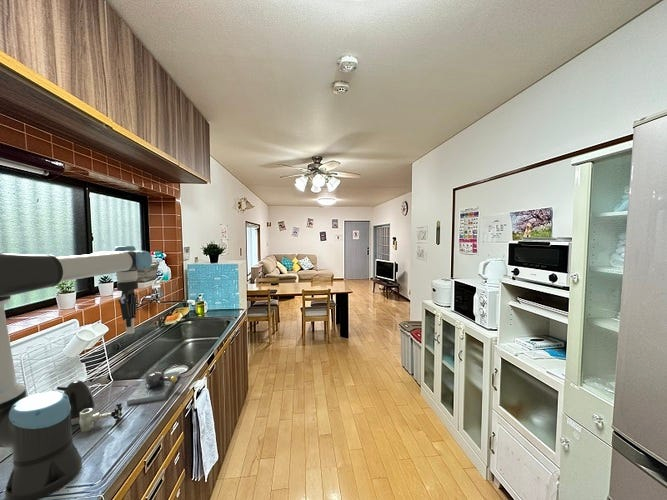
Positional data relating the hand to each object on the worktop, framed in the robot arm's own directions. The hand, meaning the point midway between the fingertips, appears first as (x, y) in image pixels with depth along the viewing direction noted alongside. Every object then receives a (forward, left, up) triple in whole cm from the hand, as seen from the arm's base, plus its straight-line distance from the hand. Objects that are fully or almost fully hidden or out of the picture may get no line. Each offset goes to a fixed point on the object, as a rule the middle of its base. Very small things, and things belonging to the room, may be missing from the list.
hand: (130, 333), depth 127 cm
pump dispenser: (-18, +12, -27) cm, 34 cm away
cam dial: (-3, -12, -24) cm, 27 cm away
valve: (-24, +2, -27) cm, 36 cm away
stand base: (-1, -9, -26) cm, 28 cm away
